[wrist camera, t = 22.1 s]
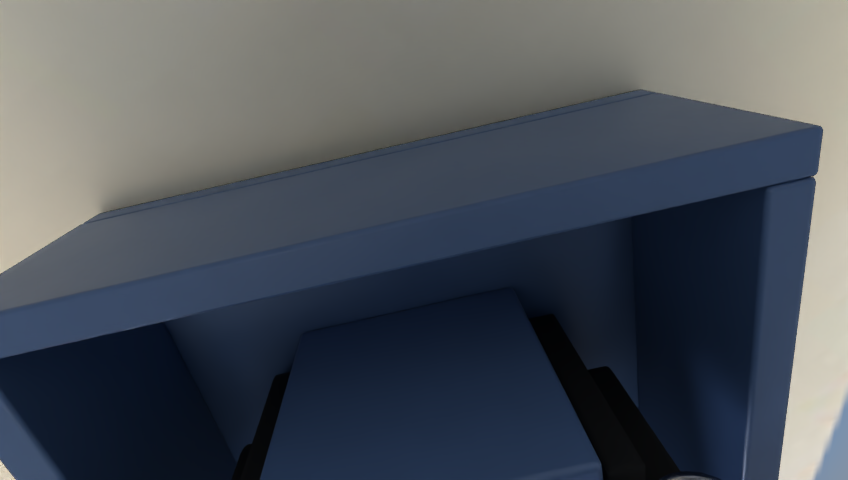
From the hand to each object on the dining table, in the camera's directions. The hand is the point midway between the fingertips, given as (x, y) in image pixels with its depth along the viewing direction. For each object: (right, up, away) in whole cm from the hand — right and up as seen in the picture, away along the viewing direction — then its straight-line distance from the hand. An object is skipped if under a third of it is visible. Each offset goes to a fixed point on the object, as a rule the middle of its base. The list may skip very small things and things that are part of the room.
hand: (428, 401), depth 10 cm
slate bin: (0, 0, +1) cm, 1 cm away
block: (0, 0, 0) cm, 0 cm away
